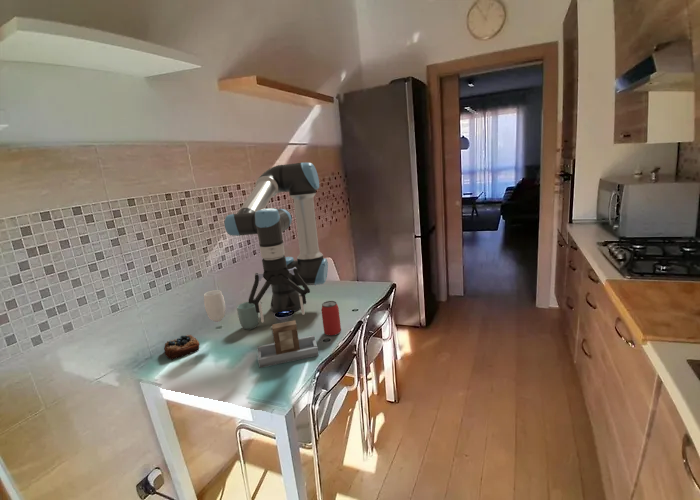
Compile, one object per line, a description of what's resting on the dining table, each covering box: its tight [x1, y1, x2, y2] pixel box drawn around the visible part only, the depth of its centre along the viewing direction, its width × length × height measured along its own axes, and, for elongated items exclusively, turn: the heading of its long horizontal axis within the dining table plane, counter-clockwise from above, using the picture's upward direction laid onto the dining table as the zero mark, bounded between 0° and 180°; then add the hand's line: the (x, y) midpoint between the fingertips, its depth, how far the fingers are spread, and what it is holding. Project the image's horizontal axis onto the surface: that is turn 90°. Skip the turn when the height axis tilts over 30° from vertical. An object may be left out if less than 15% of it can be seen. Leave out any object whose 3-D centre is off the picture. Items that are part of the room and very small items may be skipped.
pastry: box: [163, 334, 200, 361], centre depth 140 cm, size 11×12×6 cm
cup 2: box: [236, 301, 260, 330], centre depth 154 cm, size 8×8×10 cm
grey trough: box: [256, 334, 320, 369], centre depth 128 cm, size 20×7×5 cm, turn 104°
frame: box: [271, 319, 300, 355], centre depth 127 cm, size 8×4×11 cm, turn 104°
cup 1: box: [203, 289, 226, 323], centre depth 142 cm, size 7×7×21 cm
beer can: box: [321, 300, 342, 337], centre depth 142 cm, size 7×7×12 cm
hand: (283, 316), depth 126 cm, fingers open, 13 cm apart
